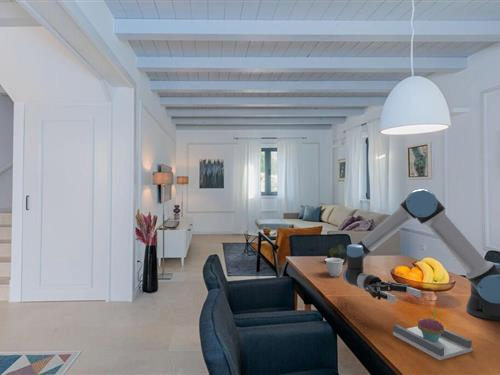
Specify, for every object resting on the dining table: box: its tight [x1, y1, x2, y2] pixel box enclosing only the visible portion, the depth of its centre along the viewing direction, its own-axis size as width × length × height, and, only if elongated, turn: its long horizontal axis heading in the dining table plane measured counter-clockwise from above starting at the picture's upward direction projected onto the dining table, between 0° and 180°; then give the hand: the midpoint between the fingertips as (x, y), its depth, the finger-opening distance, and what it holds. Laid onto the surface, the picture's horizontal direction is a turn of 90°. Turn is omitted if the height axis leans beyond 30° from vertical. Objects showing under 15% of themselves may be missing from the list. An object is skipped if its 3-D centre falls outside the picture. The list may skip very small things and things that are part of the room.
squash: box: [326, 244, 347, 265], centre depth 242 cm, size 14×15×15 cm
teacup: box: [324, 257, 344, 278], centre depth 212 cm, size 12×15×10 cm
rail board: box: [392, 318, 473, 361], centre depth 121 cm, size 20×16×4 cm
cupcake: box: [417, 307, 445, 342], centre depth 121 cm, size 9×8×12 cm
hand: (407, 296), depth 130 cm, fingers open, 13 cm apart
